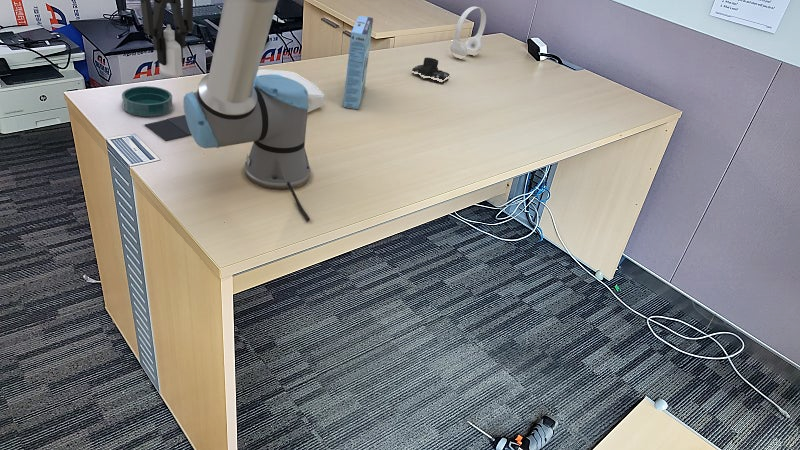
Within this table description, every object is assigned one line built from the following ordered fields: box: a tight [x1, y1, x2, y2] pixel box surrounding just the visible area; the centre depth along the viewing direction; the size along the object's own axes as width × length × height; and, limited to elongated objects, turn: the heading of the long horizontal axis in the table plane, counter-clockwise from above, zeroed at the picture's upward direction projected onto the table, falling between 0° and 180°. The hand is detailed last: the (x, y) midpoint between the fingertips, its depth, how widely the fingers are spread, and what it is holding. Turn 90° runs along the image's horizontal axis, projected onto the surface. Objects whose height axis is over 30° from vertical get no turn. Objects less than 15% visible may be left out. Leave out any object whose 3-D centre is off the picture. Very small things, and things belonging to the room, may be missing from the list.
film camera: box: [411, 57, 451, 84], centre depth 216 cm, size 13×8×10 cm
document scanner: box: [253, 68, 325, 114], centre depth 173 cm, size 21×28×6 cm
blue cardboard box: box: [342, 15, 374, 110], centre depth 185 cm, size 20×5×23 cm, turn 177°
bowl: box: [121, 85, 174, 117], centre depth 160 cm, size 12×12×4 cm
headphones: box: [449, 6, 487, 57], centre depth 239 cm, size 7×18×20 cm, turn 141°
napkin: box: [144, 114, 192, 142], centre depth 154 cm, size 10×12×1 cm
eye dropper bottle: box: [158, 24, 183, 78], centre depth 144 cm, size 4×6×12 cm
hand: (170, 61), depth 146 cm, fingers closed on eye dropper bottle, 4 cm apart
